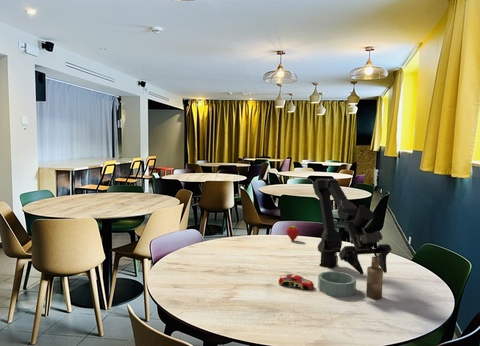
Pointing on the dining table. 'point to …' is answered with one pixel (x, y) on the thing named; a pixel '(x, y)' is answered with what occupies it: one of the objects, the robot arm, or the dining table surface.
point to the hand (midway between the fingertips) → (374, 273)
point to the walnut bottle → (374, 280)
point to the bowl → (336, 283)
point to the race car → (295, 282)
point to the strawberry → (292, 232)
